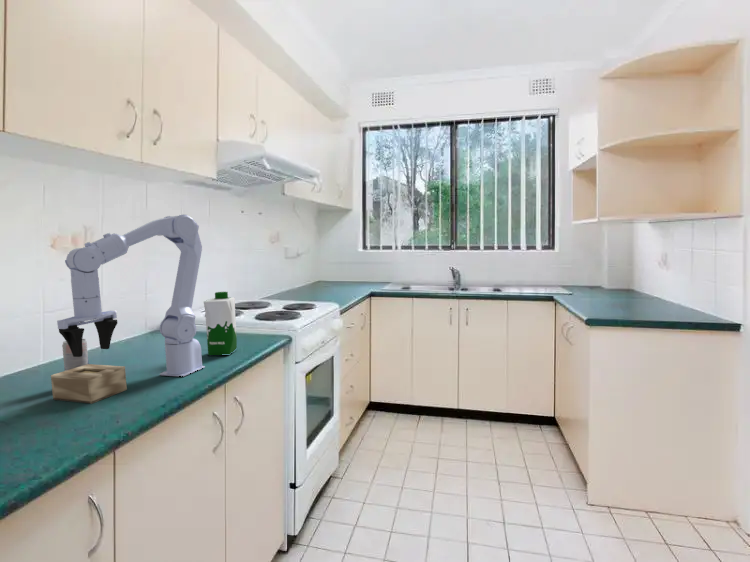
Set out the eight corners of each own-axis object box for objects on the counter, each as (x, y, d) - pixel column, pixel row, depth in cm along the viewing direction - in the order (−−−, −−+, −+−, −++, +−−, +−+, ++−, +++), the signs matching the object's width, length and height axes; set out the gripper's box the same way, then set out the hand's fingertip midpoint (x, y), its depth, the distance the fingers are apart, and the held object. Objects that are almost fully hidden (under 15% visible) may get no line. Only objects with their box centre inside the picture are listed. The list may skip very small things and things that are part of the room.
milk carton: (240, 349, 157) (236, 291, 155) (231, 356, 148) (227, 294, 146) (214, 350, 157) (210, 291, 155) (203, 357, 148) (199, 295, 146)
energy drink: (85, 381, 125) (82, 337, 124) (93, 384, 122) (89, 339, 121) (63, 386, 121) (58, 341, 120) (70, 390, 117) (66, 343, 116)
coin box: (90, 386, 120) (88, 364, 119) (126, 389, 116) (124, 366, 116) (53, 399, 110) (50, 375, 110) (91, 403, 107) (89, 378, 106)
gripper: (71, 301, 104) (77, 361, 105) (124, 293, 118) (128, 346, 119) (48, 301, 106) (54, 359, 107) (102, 293, 120) (107, 345, 121)
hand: (91, 352), depth 113 cm, fingers open, 7 cm apart
